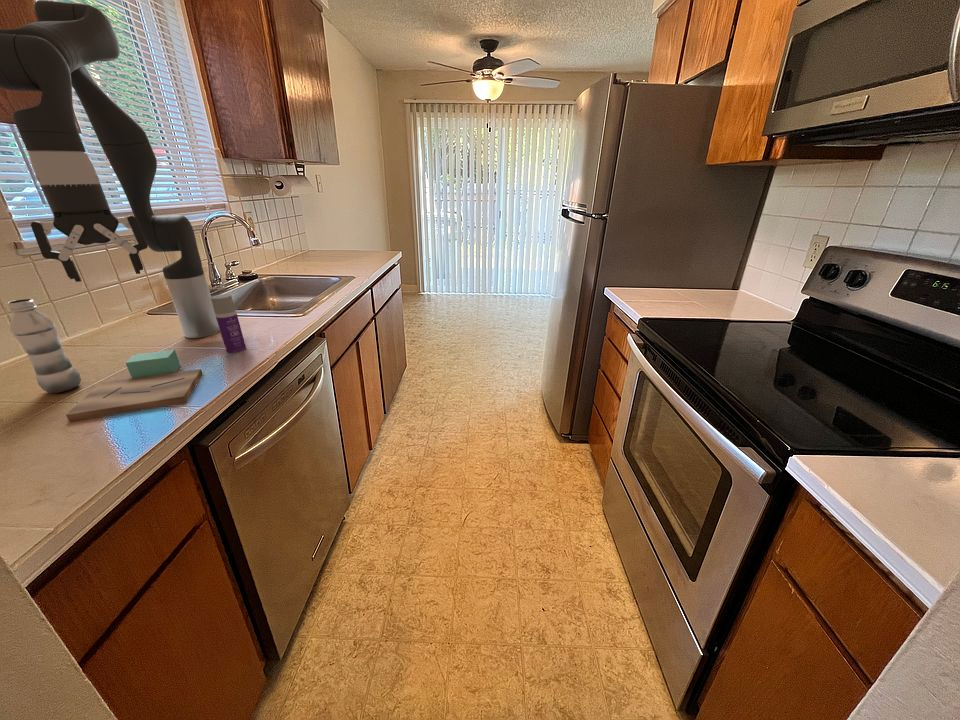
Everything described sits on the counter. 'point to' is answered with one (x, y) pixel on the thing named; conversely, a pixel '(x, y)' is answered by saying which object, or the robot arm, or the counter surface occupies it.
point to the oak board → (136, 394)
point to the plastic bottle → (42, 347)
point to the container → (228, 324)
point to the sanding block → (153, 363)
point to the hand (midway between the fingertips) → (109, 277)
